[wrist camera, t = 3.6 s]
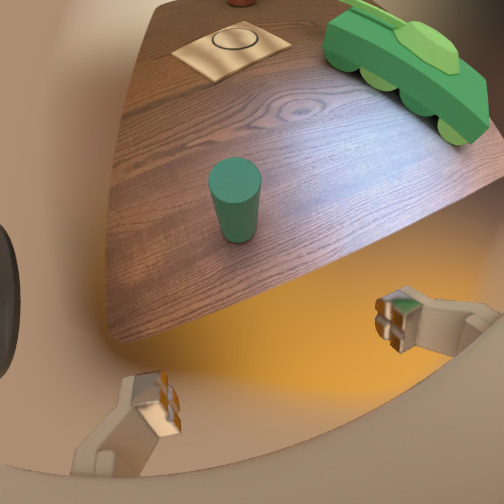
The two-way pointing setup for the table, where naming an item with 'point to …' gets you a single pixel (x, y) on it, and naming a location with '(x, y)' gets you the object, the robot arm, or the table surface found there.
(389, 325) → the robot arm
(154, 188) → the table surface
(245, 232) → the dot marker
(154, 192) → the table surface
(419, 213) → the table surface
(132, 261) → the table surface
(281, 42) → the board
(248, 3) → the beverage can
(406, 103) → the toy tank
